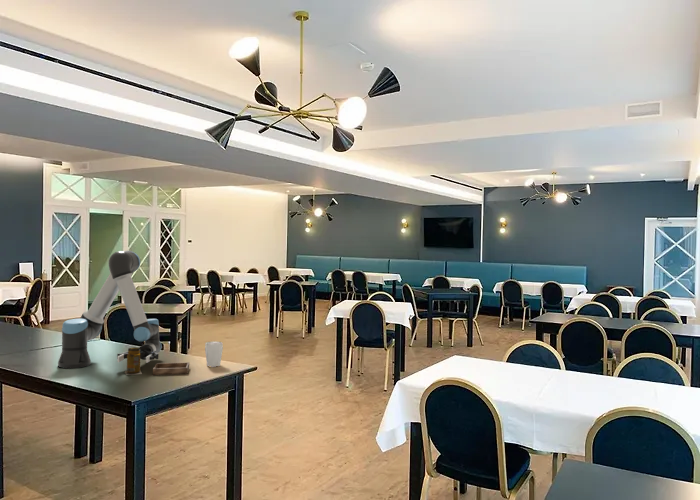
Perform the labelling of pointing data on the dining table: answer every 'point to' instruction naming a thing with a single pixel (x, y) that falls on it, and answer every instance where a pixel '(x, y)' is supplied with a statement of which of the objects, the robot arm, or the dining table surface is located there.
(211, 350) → the cup
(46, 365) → the dining table surface
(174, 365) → the holder tray
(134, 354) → the condiment
